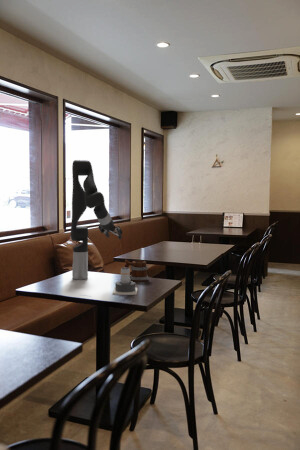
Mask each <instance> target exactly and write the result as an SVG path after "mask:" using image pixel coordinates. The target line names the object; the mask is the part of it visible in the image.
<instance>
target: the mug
mask: <svg viewBox="0 0 300 450" xmlns="http://www.w3.org/2000/svg"><path fill="white" fill-rule="evenodd" d="M124 262H125V265H124V267H126V268H130V281H135V283H144V281H145V282H147V281H148V280H149V276H148V268H149V267H148V266H147V261H145V260H133V261H132V262H130V261H129V260H128V259H125V260H124Z"/></svg>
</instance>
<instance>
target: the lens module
mask: <svg viewBox="0 0 300 450" xmlns="http://www.w3.org/2000/svg"><path fill="white" fill-rule="evenodd" d="M130 272H131V267H128V268H126V267H125V266H124V267H121V268H120V281H121V284H130V281H131V279H130V276H131V275H130Z"/></svg>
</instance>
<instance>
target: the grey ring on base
mask: <svg viewBox="0 0 300 450" xmlns="http://www.w3.org/2000/svg"><path fill="white" fill-rule="evenodd" d="M114 284H115V287H114V288H113V291H112V295H119V296H120V295H121V296H122V295H125V296H126V295H127V296H128V295H129V296H130V295H132V296H137V294H138V287H136V282H133V281H131V280H130V284H121V280H119V281H115V283H114Z"/></svg>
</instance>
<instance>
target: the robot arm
mask: <svg viewBox="0 0 300 450" xmlns="http://www.w3.org/2000/svg"><path fill="white" fill-rule="evenodd" d="M71 167H72V172H71V173H72V192H71V193H72V196H71V224H70V240H71V241H72V242H81V243H79V244H77V245H75V246H73V248H72V266H71V267H72V274H71V275H72V276H71V278H72V280H86V279H88V278H89V277H88V276H89V273H88V272H89V266H88V264H89V262H88V261H89V253H88V252H89V251H88V250H89V249H88V246H89V229H88V227H87V226H83V225H82V226H81V225H79V226H78V222H79V220H80V218H81V217H82V216H83V214H84V213H85V211H86V210H87V208H89V209H93V212H94V215H95V217H96V219H97V222H98V224H99V225H98V229H99V231H100V233H101V234H104V235H105V237H106V238H107V239H108V238H110V236H111V234H110V233H112V234H113V235H116V236H117V239H118V240H122V238H123V236H122V234H123V233H124V231H123V230H122V228H121V227H120V226H119V225H118V226H116V225H115V224H114V222H115V221H114V220H113V218H112V216H111V214H110V212H109V211H108V210H107V207H106V203H105V196H104V195H103V193H102V192H100V191H99V190H98V188H97V185H96V181H95V176H94V172H93V171H94V170H93V166H92V163H91V161H90V160H88V159H87V160H86V159H85V160H84V159H82V160H81V159H75V160H73V161H72V166H71ZM79 176H80V177H81V176H82V177H83V176H85V178H84V181H83V182H82V183H83V184H82V185H81V183H80V179H79ZM82 186H83V187H82Z"/></svg>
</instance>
